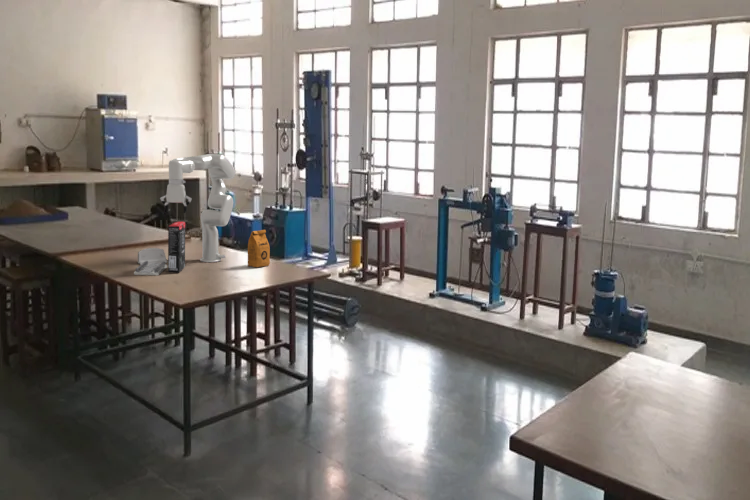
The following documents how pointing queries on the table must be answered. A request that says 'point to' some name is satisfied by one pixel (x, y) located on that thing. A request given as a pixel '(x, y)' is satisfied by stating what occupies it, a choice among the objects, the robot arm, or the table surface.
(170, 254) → the graphics card box
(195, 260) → the table surface
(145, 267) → the rail mount
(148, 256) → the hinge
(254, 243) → the coffee package
